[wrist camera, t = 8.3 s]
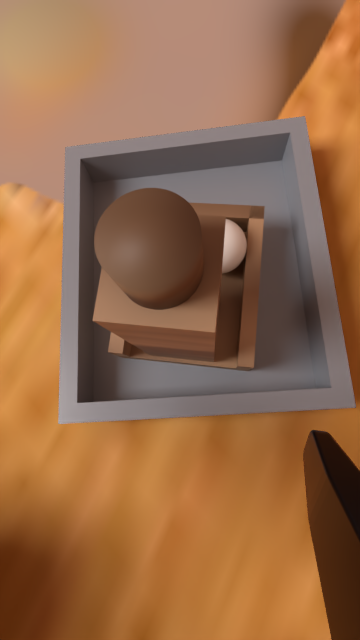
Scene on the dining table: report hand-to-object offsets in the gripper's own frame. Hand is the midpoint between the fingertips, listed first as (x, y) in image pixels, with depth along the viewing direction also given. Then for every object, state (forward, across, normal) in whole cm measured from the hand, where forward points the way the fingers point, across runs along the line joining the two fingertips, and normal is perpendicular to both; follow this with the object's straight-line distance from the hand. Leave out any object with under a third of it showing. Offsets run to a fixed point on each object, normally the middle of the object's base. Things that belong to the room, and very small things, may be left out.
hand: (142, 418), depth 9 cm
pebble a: (+12, -2, -1) cm, 12 cm away
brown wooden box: (+12, 0, +2) cm, 12 cm away
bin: (+13, 0, +2) cm, 13 cm away
